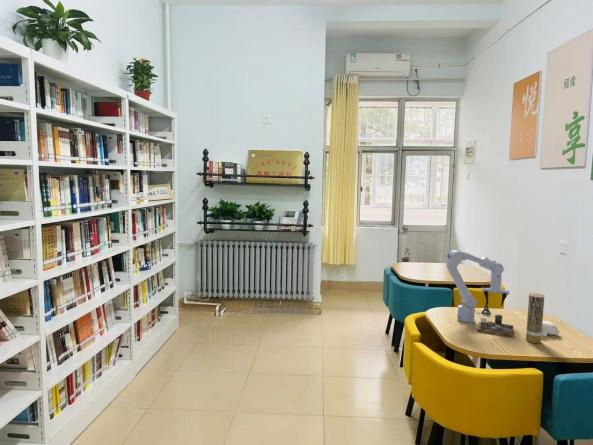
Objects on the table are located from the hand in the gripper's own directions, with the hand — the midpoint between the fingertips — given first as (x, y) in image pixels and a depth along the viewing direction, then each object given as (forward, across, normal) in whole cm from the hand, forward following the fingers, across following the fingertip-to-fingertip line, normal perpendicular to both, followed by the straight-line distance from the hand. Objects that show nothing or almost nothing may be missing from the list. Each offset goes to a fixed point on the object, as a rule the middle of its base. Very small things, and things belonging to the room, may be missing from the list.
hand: (494, 304), depth 239 cm
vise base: (+10, +1, -17) cm, 20 cm away
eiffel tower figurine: (+11, -5, +15) cm, 20 cm away
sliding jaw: (+9, +2, -17) cm, 19 cm away
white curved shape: (+11, +25, -9) cm, 28 cm away
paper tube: (+11, +19, -25) cm, 33 cm away
